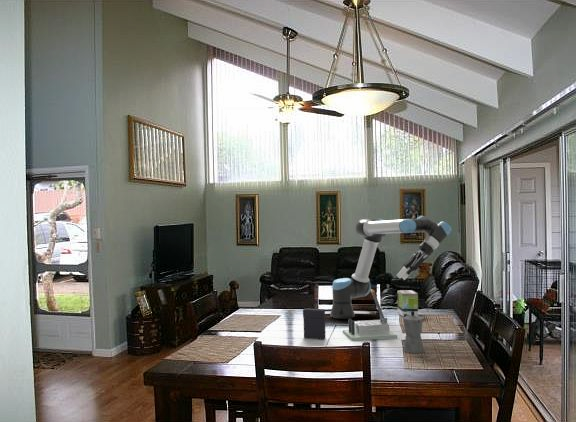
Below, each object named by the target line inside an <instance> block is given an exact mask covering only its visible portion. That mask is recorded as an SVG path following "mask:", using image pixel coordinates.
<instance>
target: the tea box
mask: <svg viewBox="0 0 576 422" xmlns="http://www.w3.org/2000/svg"><path fill="white" fill-rule="evenodd" d="M396 296H397V297H396V298H397V313H398V314H399V315H400V316H401V317H402V318H403V317H404V315H405V314H407V315H410V316H411V312H412V311H413V312H414V316H419V293H418V292H416V291H415V290H412V289H411V290H410V289H409V290H407V289H405V290H404V289H403V290H401V289H400V290H397V295H396Z"/></svg>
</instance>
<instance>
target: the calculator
mask: <svg viewBox="0 0 576 422" xmlns="http://www.w3.org/2000/svg"><path fill="white" fill-rule="evenodd" d="M302 319H303V338H304V339H312V340H322V341H323V340H324V339H326V337H327V336H326V310H325V309H323V308H303V310H302Z"/></svg>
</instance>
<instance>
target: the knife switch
mask: <svg viewBox="0 0 576 422" xmlns="http://www.w3.org/2000/svg"><path fill="white" fill-rule="evenodd" d="M347 319H348V330H349V333H351V335H355V333H356V334H357V335H359V336H365V335H382V334H390V331H391V330H390V323H388V318H387V317H384V318H383V321H382V319H381V317H380V316H379V319H372V320H371V319H369V320H353V319H352V318H347Z"/></svg>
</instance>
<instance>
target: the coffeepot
mask: <svg viewBox="0 0 576 422" xmlns="http://www.w3.org/2000/svg"><path fill="white" fill-rule="evenodd" d="M402 320H403V325H404V327H403V328H404V332H405V338H404V344H403V345H404V346H403V351H404V352H406V353H409V354H420V353H424V345H423V339H422V335H421V333H422V332H423V331H422V330H423V324H424V323H423V321H424V317H422V316H419V315H418V316H414V312H413V311H412V312H411V316H410V315H407V314H405V315H404V317H402Z"/></svg>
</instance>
